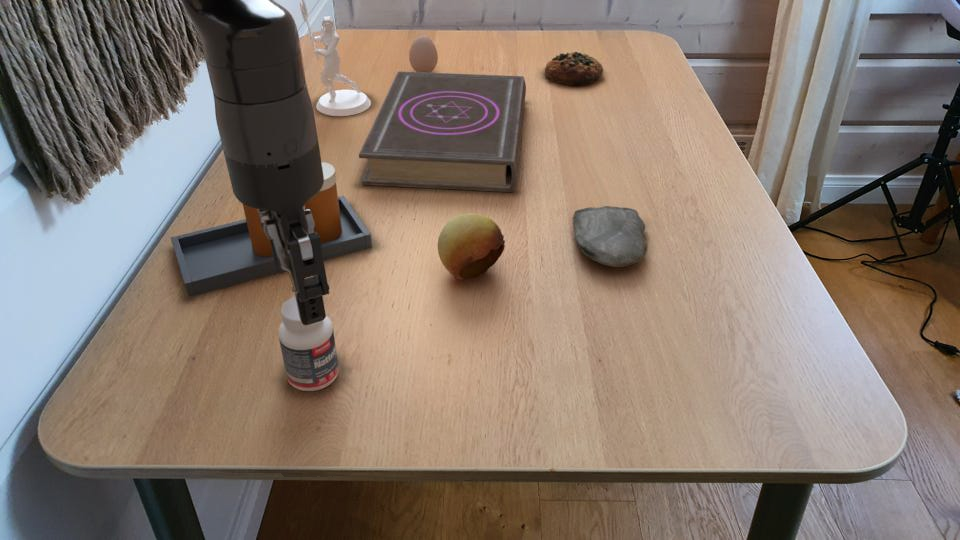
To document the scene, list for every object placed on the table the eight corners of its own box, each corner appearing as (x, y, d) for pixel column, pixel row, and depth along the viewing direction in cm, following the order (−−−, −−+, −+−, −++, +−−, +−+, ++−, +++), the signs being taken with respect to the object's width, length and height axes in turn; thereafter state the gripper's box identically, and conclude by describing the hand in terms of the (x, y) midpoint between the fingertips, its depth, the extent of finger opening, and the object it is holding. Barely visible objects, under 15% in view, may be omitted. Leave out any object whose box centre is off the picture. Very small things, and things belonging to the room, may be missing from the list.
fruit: (513, 263, 91) (515, 208, 86) (483, 302, 85) (484, 245, 80) (458, 248, 94) (457, 194, 89) (426, 284, 88) (423, 228, 83)
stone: (571, 218, 100) (573, 197, 98) (641, 220, 99) (644, 199, 97) (574, 276, 89) (576, 254, 87) (652, 279, 88) (656, 257, 86)
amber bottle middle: (257, 261, 90) (243, 198, 85) (247, 240, 94) (233, 178, 89) (298, 250, 92) (287, 188, 87) (287, 230, 96) (276, 169, 90)
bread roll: (565, 90, 133) (566, 62, 130) (532, 77, 141) (532, 50, 139) (614, 81, 137) (616, 53, 135) (580, 69, 146) (581, 43, 144)
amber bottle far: (308, 248, 93) (298, 186, 87) (297, 227, 96) (286, 167, 91) (348, 237, 95) (340, 176, 89) (335, 218, 98) (327, 157, 93)
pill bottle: (323, 398, 73) (311, 330, 68) (277, 385, 74) (262, 318, 69) (348, 362, 77) (338, 296, 72) (304, 351, 78) (291, 285, 73)
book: (399, 98, 130) (397, 71, 127) (525, 103, 129) (526, 76, 126) (361, 185, 106) (358, 154, 103) (516, 192, 105) (517, 161, 102)
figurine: (308, 98, 130) (293, -6, 119) (359, 88, 134) (349, -14, 123) (325, 120, 123) (310, 11, 112) (378, 109, 127) (369, 3, 116)
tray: (188, 297, 85) (184, 283, 84) (174, 250, 93) (170, 237, 92) (372, 247, 94) (370, 234, 93) (345, 207, 101) (343, 195, 100)
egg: (429, 81, 136) (428, 42, 132) (404, 76, 138) (402, 38, 134) (443, 71, 140) (442, 33, 136) (418, 67, 142) (417, 29, 138)
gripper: (206, 114, 63) (243, 264, 73) (243, 190, 53) (280, 353, 63) (291, 97, 66) (316, 244, 76) (342, 166, 56) (363, 327, 66)
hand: (300, 294), depth 69 cm, fingers open, 8 cm apart
